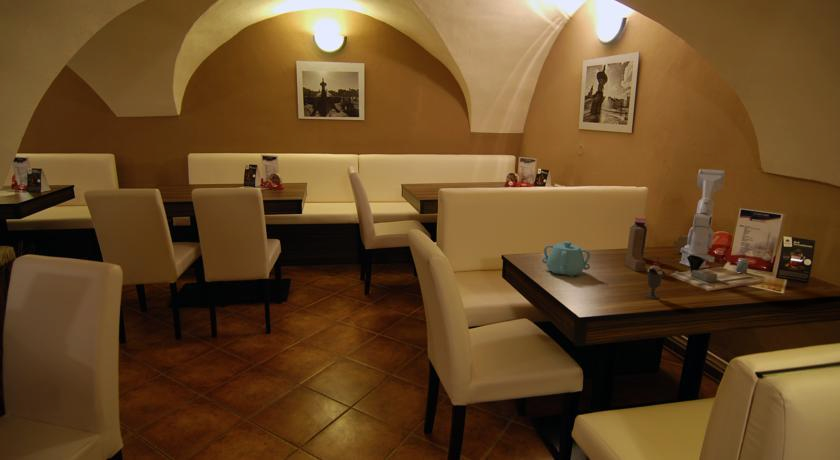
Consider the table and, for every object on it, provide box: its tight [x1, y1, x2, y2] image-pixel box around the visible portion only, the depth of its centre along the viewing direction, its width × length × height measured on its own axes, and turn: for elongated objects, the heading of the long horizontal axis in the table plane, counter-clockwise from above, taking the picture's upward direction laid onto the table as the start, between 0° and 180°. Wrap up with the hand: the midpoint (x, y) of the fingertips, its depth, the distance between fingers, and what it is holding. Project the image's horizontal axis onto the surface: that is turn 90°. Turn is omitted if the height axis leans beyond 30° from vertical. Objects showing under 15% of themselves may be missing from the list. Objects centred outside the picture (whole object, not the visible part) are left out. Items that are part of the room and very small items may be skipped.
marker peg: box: [735, 257, 750, 274], centre depth 212 cm, size 4×4×6 cm
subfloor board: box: [670, 266, 761, 292], centre depth 203 cm, size 18×30×2 cm, turn 111°
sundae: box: [644, 257, 666, 300], centre depth 180 cm, size 7×7×15 cm
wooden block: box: [624, 226, 647, 272], centre depth 213 cm, size 9×4×18 cm, turn 5°
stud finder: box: [691, 268, 718, 283], centre depth 199 cm, size 7×6×4 cm
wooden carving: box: [671, 234, 710, 254], centre depth 236 cm, size 16×5×10 cm, turn 56°
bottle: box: [631, 215, 648, 259], centre depth 228 cm, size 7×7×20 cm
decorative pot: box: [541, 240, 591, 278], centre depth 206 cm, size 16×16×14 cm
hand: (693, 273), depth 203 cm, fingers closed
